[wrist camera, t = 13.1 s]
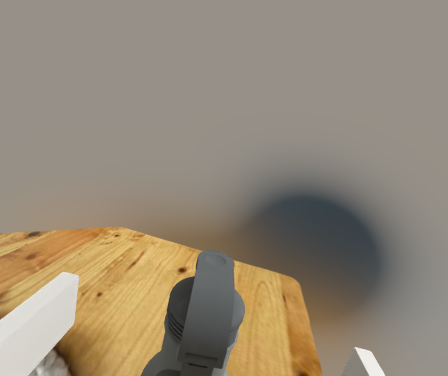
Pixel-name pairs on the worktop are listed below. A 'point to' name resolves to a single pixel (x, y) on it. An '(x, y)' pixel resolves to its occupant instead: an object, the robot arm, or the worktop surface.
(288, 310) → the worktop surface
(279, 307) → the worktop surface
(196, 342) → the water bottle
